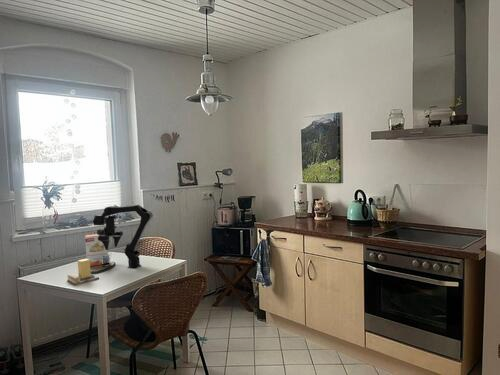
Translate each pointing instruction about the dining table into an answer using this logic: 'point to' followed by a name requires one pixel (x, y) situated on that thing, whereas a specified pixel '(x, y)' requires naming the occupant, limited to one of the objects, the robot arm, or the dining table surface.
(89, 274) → the pillar
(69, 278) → the flat tray
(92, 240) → the cracker box
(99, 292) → the dining table surface
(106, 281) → the dining table surface
